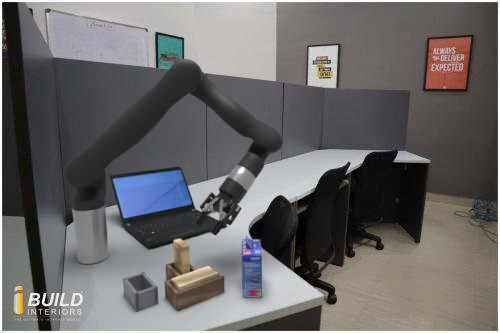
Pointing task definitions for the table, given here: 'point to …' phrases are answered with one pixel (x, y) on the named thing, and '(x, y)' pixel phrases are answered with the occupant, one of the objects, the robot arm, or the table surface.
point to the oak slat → (181, 257)
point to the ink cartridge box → (252, 268)
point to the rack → (191, 289)
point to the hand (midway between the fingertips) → (204, 228)
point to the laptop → (158, 206)
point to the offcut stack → (193, 278)
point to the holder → (142, 297)
